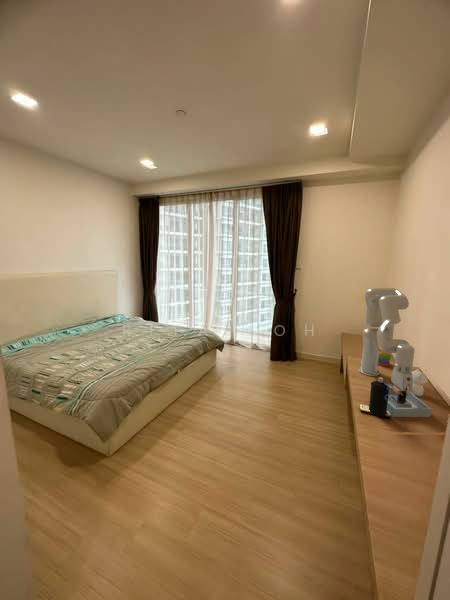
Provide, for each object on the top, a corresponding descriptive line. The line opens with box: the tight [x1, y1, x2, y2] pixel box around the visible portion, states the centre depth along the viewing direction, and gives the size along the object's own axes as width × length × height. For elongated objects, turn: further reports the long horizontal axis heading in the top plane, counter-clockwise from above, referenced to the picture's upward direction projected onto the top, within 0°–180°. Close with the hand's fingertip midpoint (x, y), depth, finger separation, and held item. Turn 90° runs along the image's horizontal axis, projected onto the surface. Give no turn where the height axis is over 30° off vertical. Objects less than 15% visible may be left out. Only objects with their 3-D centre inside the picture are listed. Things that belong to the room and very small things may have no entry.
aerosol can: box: [368, 376, 391, 418], centre depth 121 cm, size 8×8×20 cm
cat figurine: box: [410, 368, 428, 397], centre depth 137 cm, size 9×12×15 cm
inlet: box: [388, 395, 412, 408], centre depth 128 cm, size 8×8×3 cm
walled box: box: [387, 386, 432, 418], centre depth 128 cm, size 20×18×5 cm
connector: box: [392, 385, 405, 403], centre depth 127 cm, size 4×4×9 cm
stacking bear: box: [377, 349, 392, 368], centre depth 173 cm, size 11×10×18 cm
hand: (399, 398), depth 127 cm, fingers closed on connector, 3 cm apart
